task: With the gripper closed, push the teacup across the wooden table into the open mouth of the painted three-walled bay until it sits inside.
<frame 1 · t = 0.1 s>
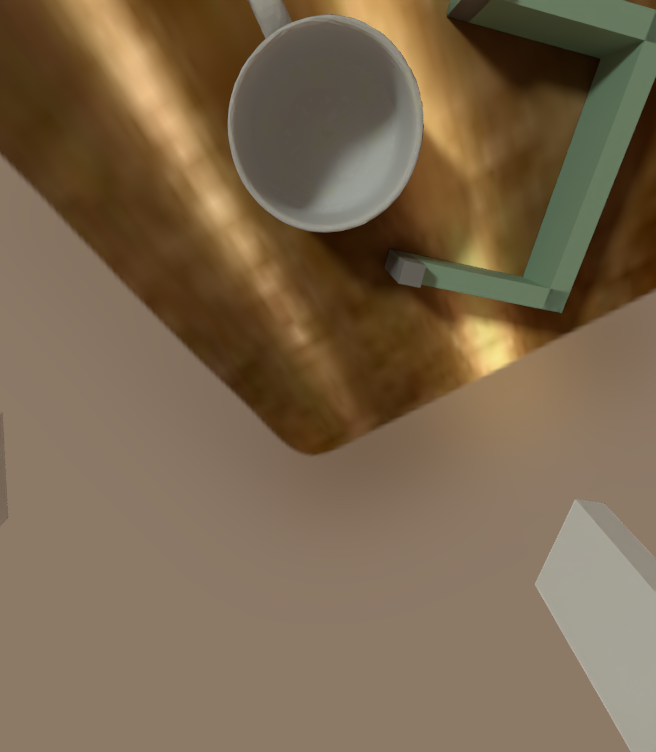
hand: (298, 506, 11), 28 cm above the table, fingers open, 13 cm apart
teacup: (314, 118, 33), on the table
bay: (498, 161, 34), on the table
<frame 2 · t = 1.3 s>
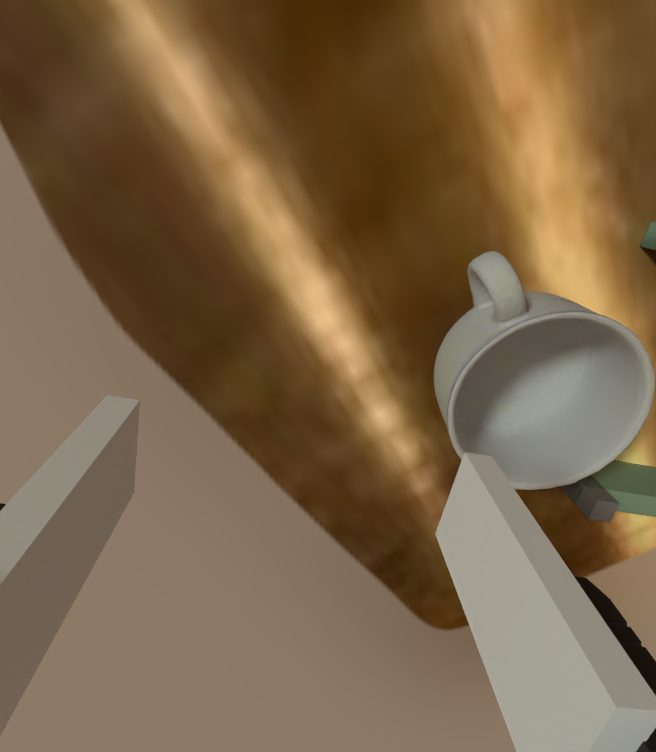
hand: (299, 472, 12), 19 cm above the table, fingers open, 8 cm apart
teacup: (491, 336, 32), on the table
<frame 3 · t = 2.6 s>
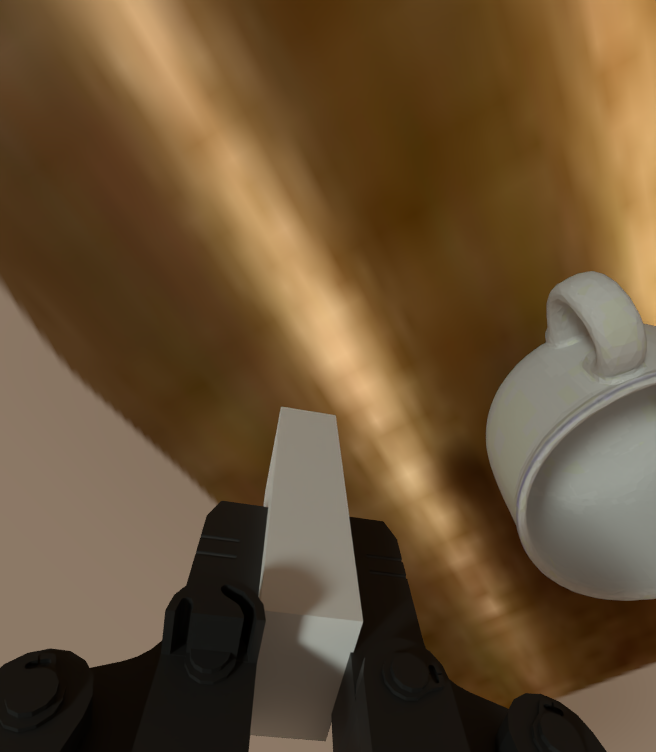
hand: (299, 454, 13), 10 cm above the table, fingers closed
teacup: (560, 376, 24), on the table
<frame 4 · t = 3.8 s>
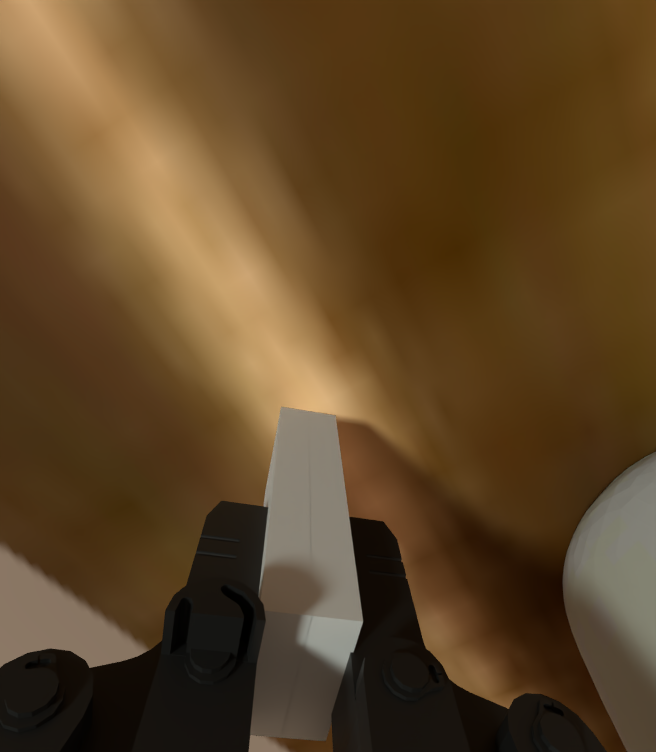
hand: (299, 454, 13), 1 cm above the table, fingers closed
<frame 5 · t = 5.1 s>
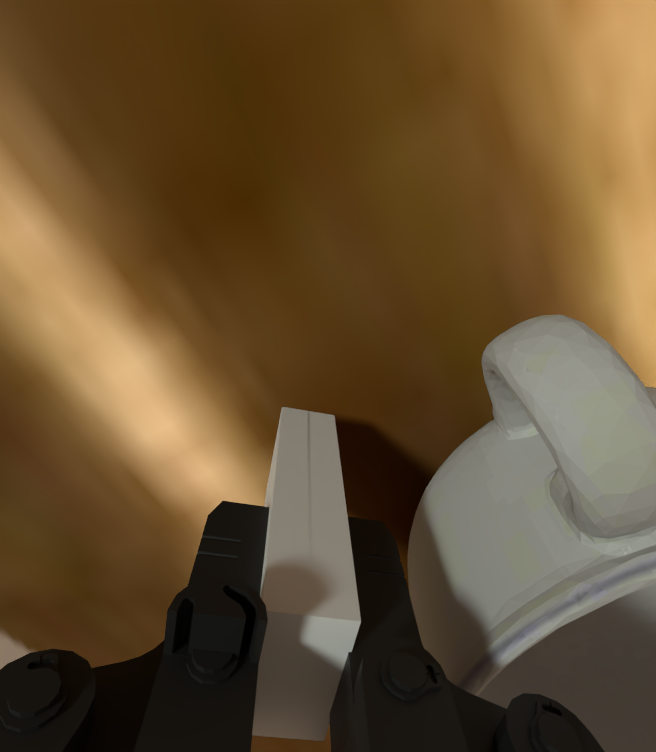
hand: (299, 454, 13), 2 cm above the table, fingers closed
teacup: (529, 456, 16), on the table, touching gripper
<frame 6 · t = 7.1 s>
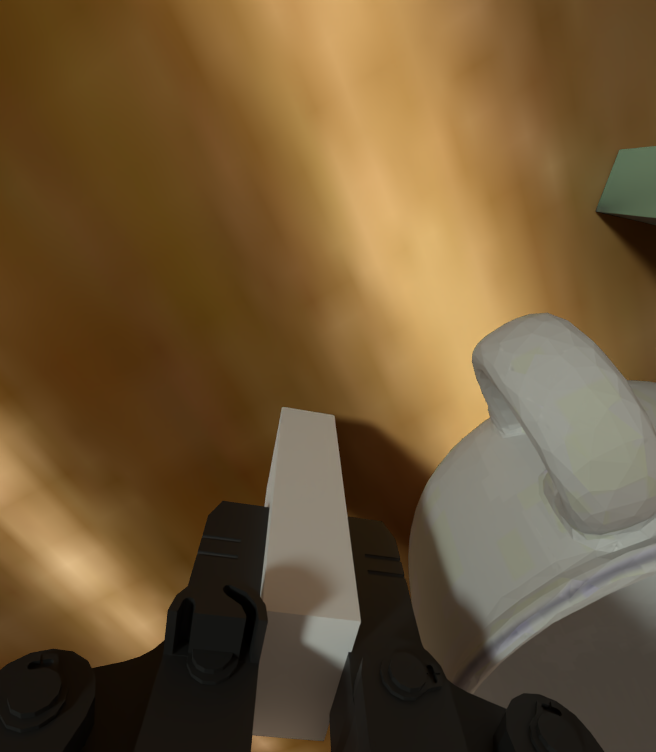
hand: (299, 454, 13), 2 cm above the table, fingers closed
teacup: (528, 453, 16), on the table, touching gripper
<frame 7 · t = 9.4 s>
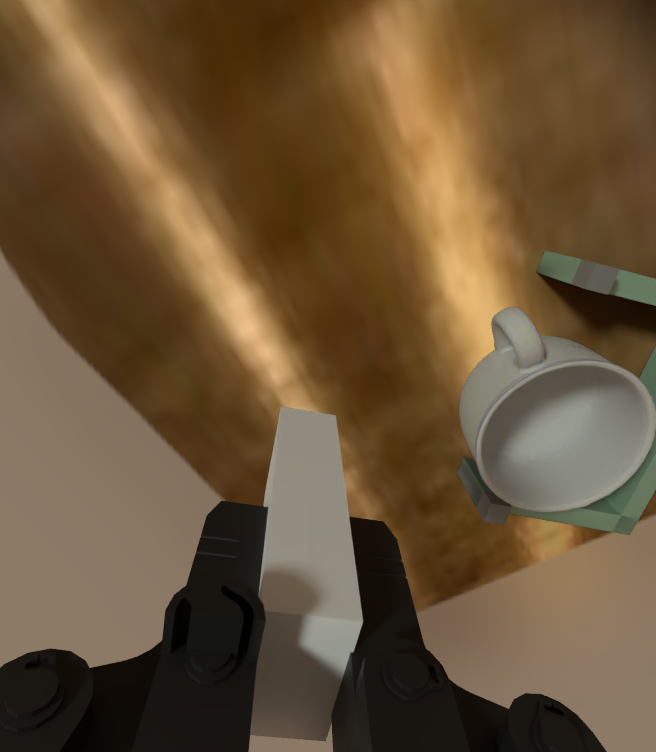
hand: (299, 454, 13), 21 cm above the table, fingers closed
teacup: (509, 372, 36), on the table
bay: (572, 388, 36), on the table
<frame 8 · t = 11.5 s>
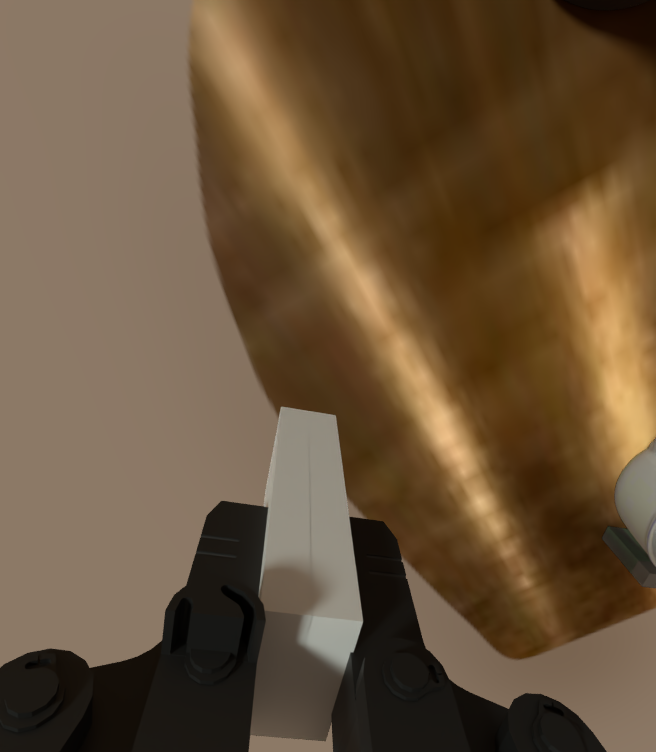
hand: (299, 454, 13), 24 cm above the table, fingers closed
teacup: (650, 460, 44), on the table
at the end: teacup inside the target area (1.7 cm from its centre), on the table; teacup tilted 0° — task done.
